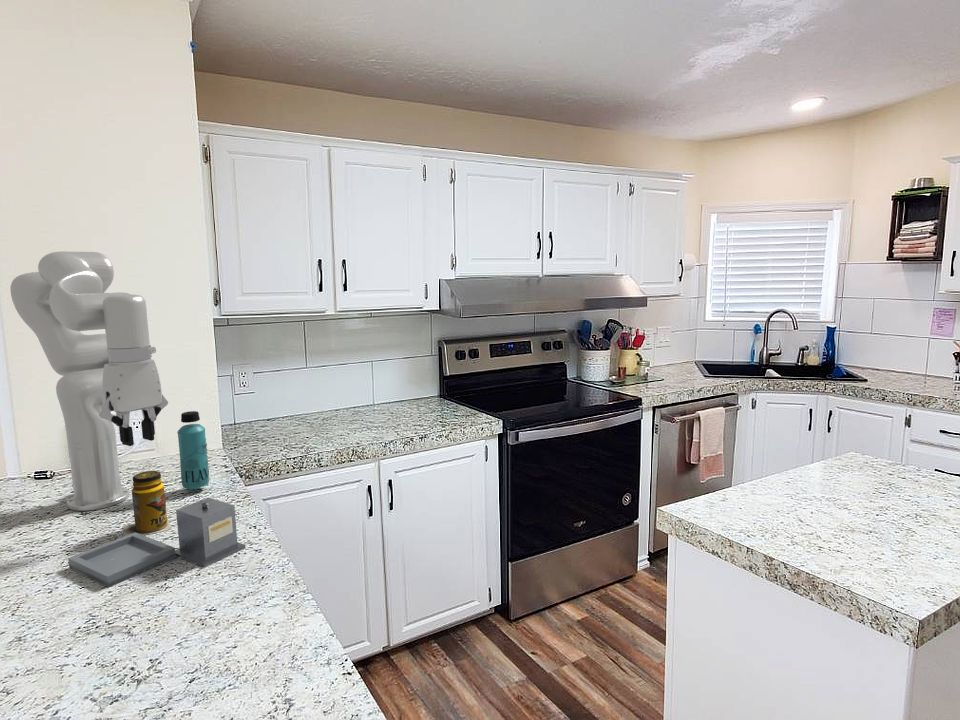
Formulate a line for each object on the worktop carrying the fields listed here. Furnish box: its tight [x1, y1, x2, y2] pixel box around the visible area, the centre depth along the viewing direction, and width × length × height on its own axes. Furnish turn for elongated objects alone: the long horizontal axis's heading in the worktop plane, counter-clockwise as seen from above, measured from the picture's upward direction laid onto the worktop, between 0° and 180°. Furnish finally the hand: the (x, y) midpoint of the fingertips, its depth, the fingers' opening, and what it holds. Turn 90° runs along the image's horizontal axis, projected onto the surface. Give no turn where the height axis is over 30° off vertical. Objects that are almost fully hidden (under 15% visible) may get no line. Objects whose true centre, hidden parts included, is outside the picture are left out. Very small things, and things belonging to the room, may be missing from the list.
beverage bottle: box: [176, 410, 211, 490], centre depth 147 cm, size 6×7×20 cm
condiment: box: [122, 470, 172, 536], centre depth 126 cm, size 7×8×12 cm
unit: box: [175, 497, 246, 568], centre depth 115 cm, size 10×9×10 cm
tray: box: [67, 532, 177, 588], centre depth 112 cm, size 13×12×2 cm
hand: (138, 441), depth 124 cm, fingers open, 3 cm apart
